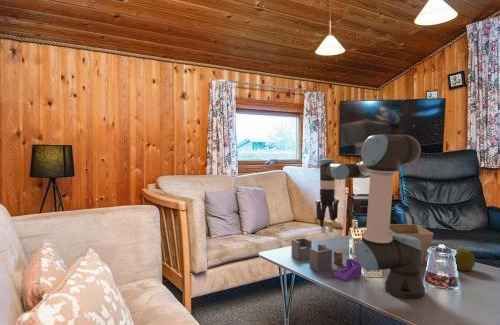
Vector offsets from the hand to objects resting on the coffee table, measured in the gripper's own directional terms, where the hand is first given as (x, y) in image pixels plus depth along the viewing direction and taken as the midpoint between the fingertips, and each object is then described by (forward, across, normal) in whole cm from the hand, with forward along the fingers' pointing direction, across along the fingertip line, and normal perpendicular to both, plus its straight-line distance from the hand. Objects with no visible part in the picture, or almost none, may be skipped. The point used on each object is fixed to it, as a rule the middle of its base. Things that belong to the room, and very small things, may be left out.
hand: (327, 232), depth 180 cm
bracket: (+15, +4, +22) cm, 27 cm away
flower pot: (+15, -37, +17) cm, 44 cm away
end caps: (+15, +10, 0) cm, 18 cm away
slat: (-4, 0, 0) cm, 4 cm away
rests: (+15, -2, 0) cm, 15 cm away
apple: (+15, -52, +38) cm, 66 cm away
